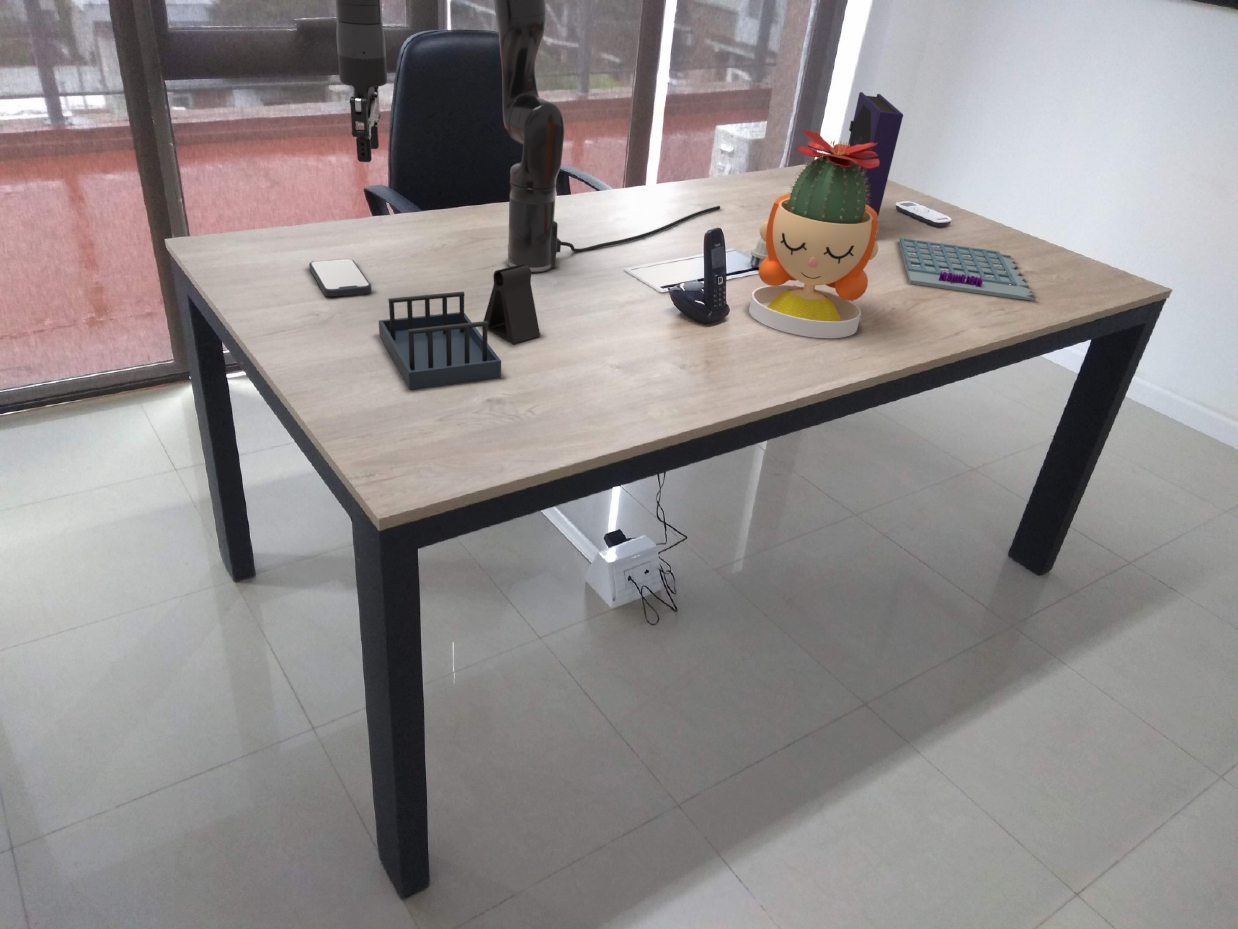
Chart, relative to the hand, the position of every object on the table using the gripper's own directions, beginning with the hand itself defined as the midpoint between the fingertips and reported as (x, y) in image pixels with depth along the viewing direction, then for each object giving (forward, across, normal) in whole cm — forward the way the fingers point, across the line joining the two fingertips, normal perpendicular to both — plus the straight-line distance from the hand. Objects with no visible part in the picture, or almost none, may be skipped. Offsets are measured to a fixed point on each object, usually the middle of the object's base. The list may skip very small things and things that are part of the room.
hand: (368, 154), depth 155 cm
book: (+28, +63, -111) cm, 131 cm away
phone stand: (+27, -12, -25) cm, 38 cm away
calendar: (+28, +33, -129) cm, 136 cm away
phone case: (+27, +8, +8) cm, 29 cm away
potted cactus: (+27, +3, -82) cm, 87 cm away
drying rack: (+26, -22, -13) cm, 37 cm away
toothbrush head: (+27, +34, -88) cm, 98 cm away
